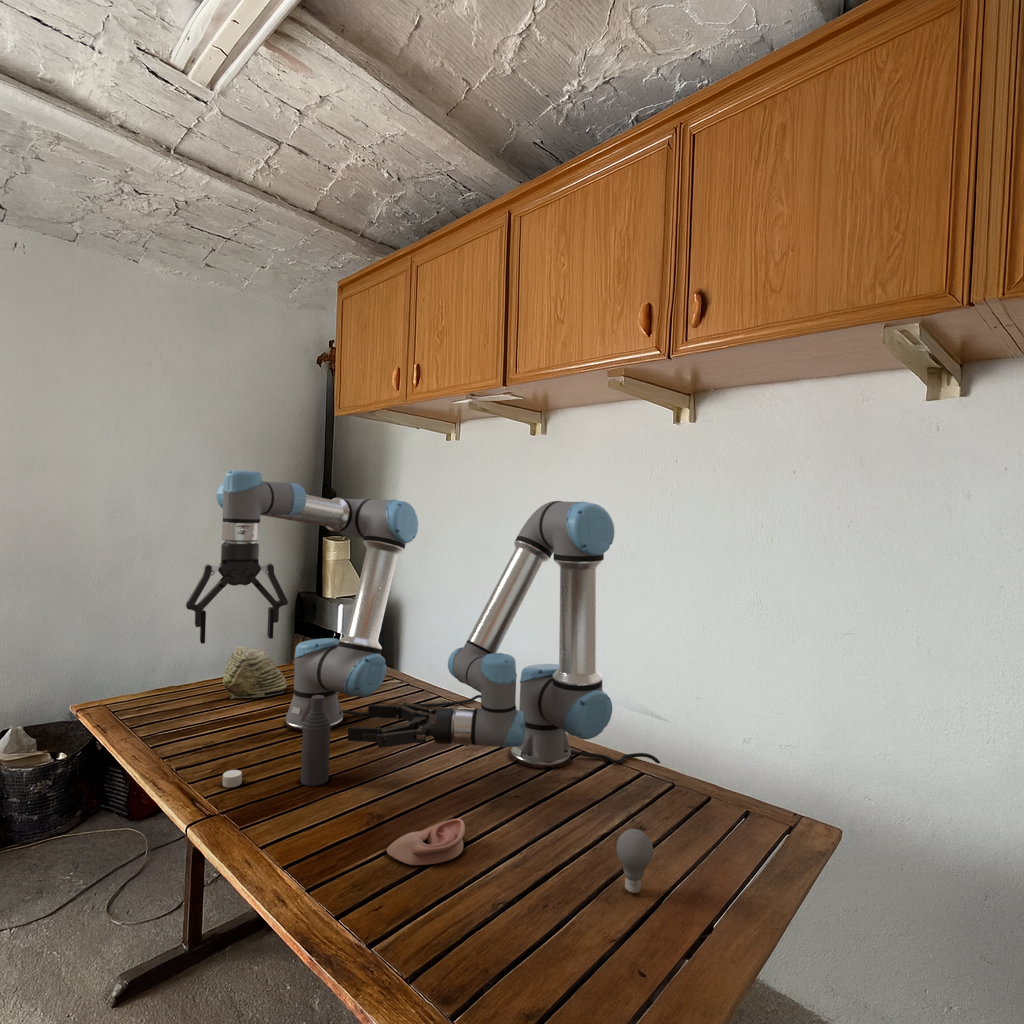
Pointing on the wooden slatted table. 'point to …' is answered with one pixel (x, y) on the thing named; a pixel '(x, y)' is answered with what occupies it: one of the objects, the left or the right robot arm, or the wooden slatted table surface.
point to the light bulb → (634, 857)
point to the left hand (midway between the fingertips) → (237, 639)
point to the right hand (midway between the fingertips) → (359, 721)
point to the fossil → (252, 674)
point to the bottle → (315, 744)
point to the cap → (232, 778)
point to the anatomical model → (430, 844)
